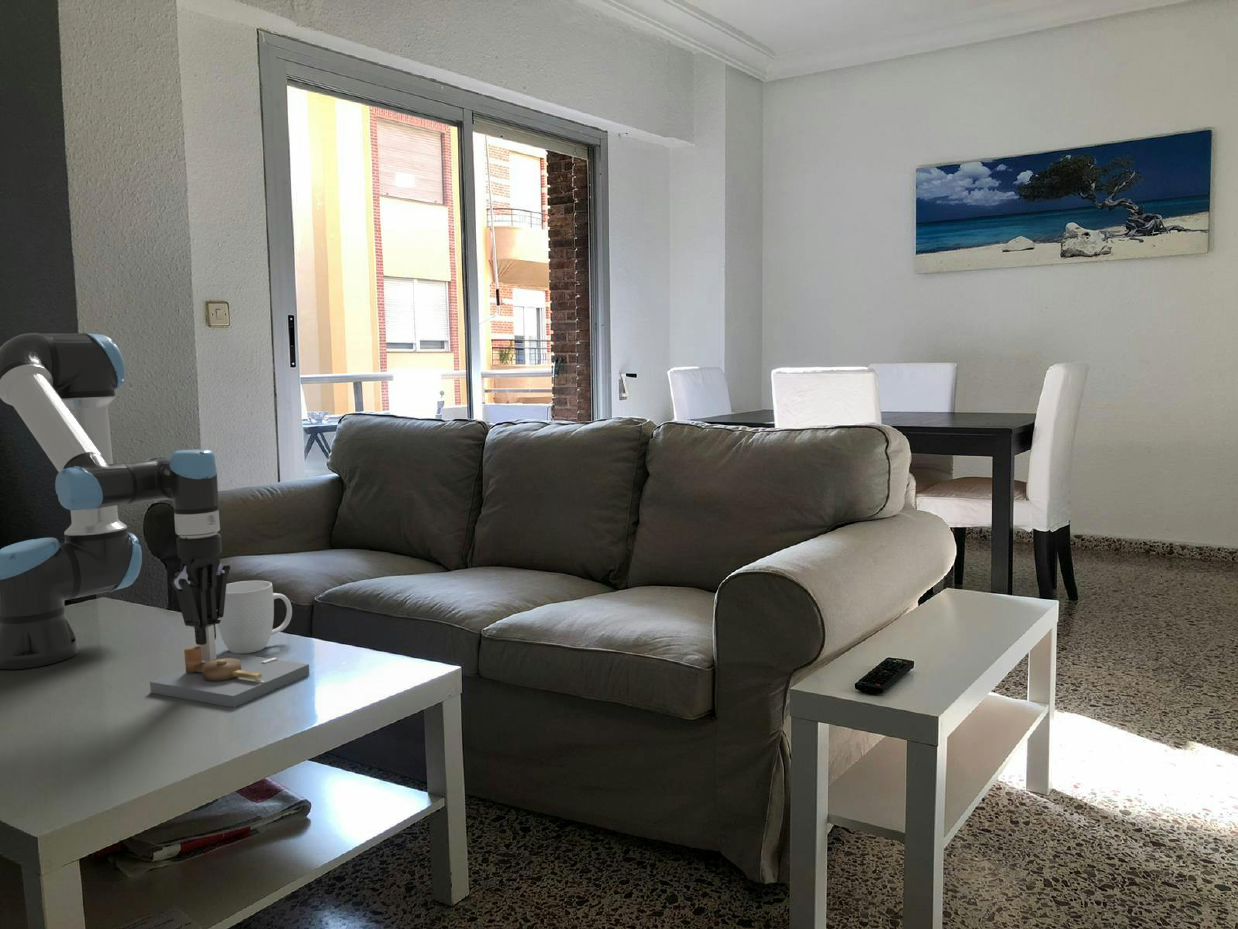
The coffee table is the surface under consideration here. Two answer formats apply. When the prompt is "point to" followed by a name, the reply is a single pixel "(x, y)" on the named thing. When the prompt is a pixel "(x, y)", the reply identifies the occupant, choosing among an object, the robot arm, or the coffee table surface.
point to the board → (231, 681)
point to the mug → (250, 616)
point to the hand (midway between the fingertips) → (207, 659)
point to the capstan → (216, 667)
